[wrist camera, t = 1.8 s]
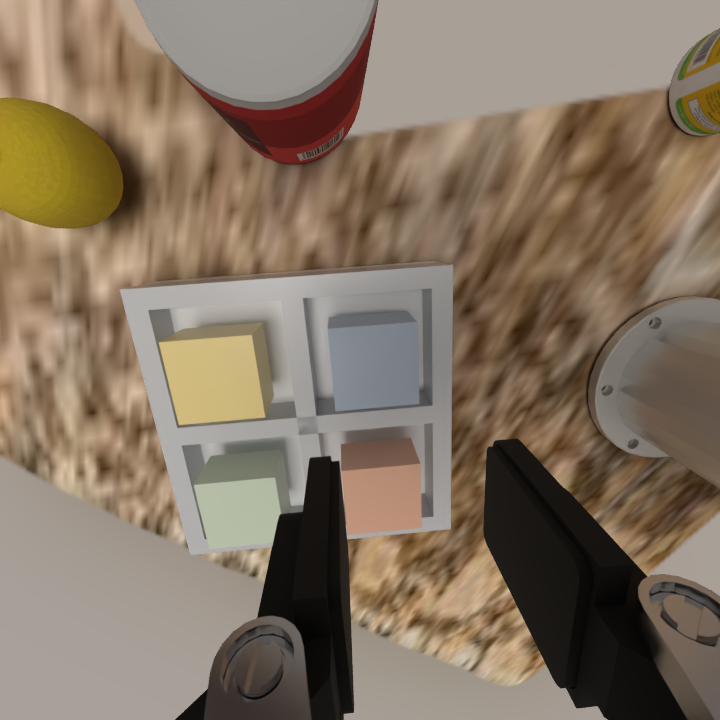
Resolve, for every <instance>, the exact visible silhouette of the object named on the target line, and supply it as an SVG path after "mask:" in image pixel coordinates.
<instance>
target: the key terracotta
mask: <svg viewBox="0 0 720 720" xmlns="http://www.w3.org/2000/svg"><path fill="white" fill-rule="evenodd" d="M341 472H342V483H343V493H344V503H345V514H346V524H347V534H348V535H355V534H365V533H375V532H385V531H395V530H405V529H415V528H422V513H421V464H420V461H419V458H418V456H417V453H416V450H415V448H414V445H413V442H412V440H411V438H401V439H390V440H379V441H368V442H357V443H346V444H341Z"/></svg>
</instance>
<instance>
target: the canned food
mask: <svg viewBox="0 0 720 720" xmlns="http://www.w3.org/2000/svg"><path fill="white" fill-rule="evenodd" d="M134 1H135V3H136V5H137V7H138V9H139V11H140V13H141V15H142V17H143V19H144V21H145V23H146V25H147V27H148V29H149V31H150V32H151V33H152V35H153V36H154V38H155V40H156V41H157V43H158V44H159V46H160V47H161V49H162V50H163V51H164V53H165V54H166V56H167V57H168V58H169V60H170V61H171V63H172V64H173V65H174V66H175V67H176V68H177V69H178V70H179V71H180V72H181V73H182V75H183V76H184V78H185V79H186V80H187V81H188V82H189V83H190V84H191V85H192V86H193V87H194V88H195V89H196V90H197V91H198V92H199V93H200V94H201V96H202V97H203V98H204V99H205V100H206V101H207V102H208V103H209V104H210V105H211V106H212V107H213V108H214V109H215V110H216V111H217V112H218V113H219V114H220V116H221V117H222V118H223V119H224V120H225V121H226V122H227V123H228V124H229V125H230V126H231V127H232V128H233V129H234V130H235V131H236V132H237V133H238V134H239V136H240V137H241V138H242V139H243V140H244V141H245V142H246V143H247V144H248V145H249V146H250V147H251V148H252V149H254V150H255V151H257V152H258V153H260V154H261V155H263V156H264V157H267V158H269V159H272V160H274V161H277V162H282V163H288V164H299V163H306V162H310V161H313V160H316V159H318V158H320V157H322V156H324V155H326V154H328V153H329V152H330V151H331V150H333V149H334V148H335V147H336V146H338V145H339V143H340V142H341V141H342V140H343V138H344V137H345V136H346V135H347V133H348V132H349V130H350V128H351V126H352V124H353V122H354V121H355V118H356V115H357V112H358V109H359V106H360V100H361V95H362V89H363V84H364V78H365V73H366V68H367V62H368V57H369V51H370V46H371V40H372V35H373V29H374V23H375V17H376V11H377V5H378V0H134Z"/></svg>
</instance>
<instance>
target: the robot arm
mask: <svg viewBox="0 0 720 720" xmlns="http://www.w3.org/2000/svg"><path fill="white" fill-rule="evenodd" d="M588 405H589V409H590V413H591V417H592V419H593V421H594V423H595V425H596V427H597V429H598V430H599V431H600V432H601V433H602V434H603V436H604V437H605V438H606V439H608V440H609V441H611V442H612V443H613V444H614V445H616V446H617V447H619V448H620V449H622V450H624V451H626V452H628V453H631V454H634V455H638V456H641V457H653V458H658V457H668V456H670V457H672V458H673V459H675V460H676V461H678V462H679V463H681V464H682V465H684V466H685V467H687V468H689V469H690V470H692V471H693V472H695V473H696V474H698V475H699V476H701V477H702V478H704V479H706V480H707V481H709V482H710V483H712V484H713V485H715V486H716V487H718V488H719V489H720V300H718V299H714V298H706V297H698V296H689V297H678V298H674V299H670V300H667V301H663V302H660V303H658V304H656V305H654V306H651V307H649V308H647V309H645V310H643V311H642V312H640V313H639V314H637V315H636V316H634V317H633V318H631V319H630V320H629V321H628V322H627V323H625V324H624V325H623V326H622V327H621V328H620V329H619V330H618V331H617V332H616V333H615V334H614V335H613V336H612V338H611V339H610V340H609V341H608V343H607V344H606V345H605V347H604V348H603V350H602V352H601V354H600V355H599V357H598V359H597V360H596V363H595V366H594V368H593V371H592V374H591V377H590V383H589V388H588ZM483 529H484V537H485V541H486V543H487V546H488V548H489V550H490V552H491V554H492V556H493V558H494V560H495V562H496V564H497V566H498V568H499V570H500V572H501V574H502V576H503V578H504V580H505V582H506V584H507V586H508V588H509V590H510V592H511V594H512V596H513V598H514V600H515V602H516V605H517V607H518V609H519V611H520V613H521V615H522V617H523V619H524V621H525V623H526V625H527V627H528V629H529V631H530V633H531V635H532V637H533V639H534V641H535V643H536V645H537V647H538V649H539V651H540V653H541V655H542V657H543V659H544V661H545V663H546V665H547V667H548V669H549V671H550V673H551V675H552V677H553V679H554V681H555V683H556V684H557V685H558V687H560V688H566V689H567V691H568V693H569V695H570V697H571V699H572V701H573V702H574V705H575V707H576V708H585V707H592V706H598V707H599V709H600V711H601V712H602V714H603V716H604V717H605V718H606V719H608V720H720V596H719V595H717V594H716V593H714V592H713V591H711V590H709V589H707V588H705V587H703V586H701V585H699V584H698V583H696V582H693V581H690V580H687V579H684V578H681V577H678V576H671V575H665V574H660V575H651V576H649V577H647V576H646V575H645V574H644V573H643V571H642V570H641V569H640V568H639V567H638V566H637V565H636V564H635V563H634V562H633V561H632V560H631V558H630V557H629V556H628V555H627V554H626V553H625V552H624V551H623V550H622V549H621V548H620V547H619V545H618V544H617V543H616V542H615V541H614V540H613V539H612V538H611V537H610V536H609V535H608V534H607V532H606V531H605V530H604V529H603V528H602V527H601V526H600V525H599V524H598V523H597V522H596V521H595V519H594V518H593V517H592V516H591V515H590V514H589V513H588V512H587V511H586V510H585V509H584V508H583V506H582V505H581V504H580V503H579V502H578V501H577V500H576V499H575V498H574V497H573V496H572V495H571V494H570V492H568V491H567V490H566V489H565V488H563V487H562V486H561V485H560V484H559V483H558V482H557V480H556V479H555V478H554V477H553V476H552V475H551V474H550V473H549V472H548V471H547V470H546V468H545V467H544V466H543V465H542V464H541V463H540V462H539V461H538V460H537V459H536V458H535V456H534V455H533V454H532V453H531V452H530V451H529V450H528V449H527V448H526V447H525V446H524V444H523V443H522V442H521V441H520V440H518V439H508V440H497V441H495V442H494V444H493V447H488V449H487V459H486V482H485V505H484V527H483ZM353 712H354V695H353V666H352V641H351V612H350V585H349V558H348V543H347V533H346V523H345V512H344V502H343V492H342V482H341V472H340V462H339V461H332V460H331V456H323V457H312V458H310V459H309V465H308V473H307V481H306V489H305V497H304V505H303V512H296V513H286V514H280V516H279V518H278V522H277V527H276V532H275V536H274V541H273V546H272V550H271V555H270V560H269V565H268V569H267V574H266V579H265V584H264V588H263V593H262V598H261V603H260V607H259V612H258V617H257V618H256V619H254V620H251V621H249V622H246V623H245V624H243V625H242V626H241V627H239V628H238V629H236V630H235V631H233V633H232V634H231V635H230V636H229V637H228V638H227V639H226V640H225V641H224V643H223V644H222V646H221V647H220V649H219V651H218V652H217V654H216V656H215V658H214V661H213V664H212V668H211V672H210V677H209V684H208V689H207V690H206V691H205V692H204V693H203V694H202V695H201V696H200V697H199V698H198V699H197V700H196V701H194V702H193V703H192V704H191V705H190V706H189V707H188V708H187V709H186V710H185V711H184V712H183V713H182V714H181V715H180V716H179V717H177V718H176V719H175V720H344V717H343V716H344V715H343V714H346V713H353Z"/></svg>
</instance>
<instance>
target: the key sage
mask: <svg viewBox="0 0 720 720" xmlns="http://www.w3.org/2000/svg"><path fill="white" fill-rule="evenodd" d="M194 489H195V493H196V497H197V501H198V505H199V509H200V513H201V517H202V521H203V525H204V530H205V534H206V538H207V542H208V546H209V549H215V548H225V547H235V546H245V545H255V544H265V543H273V541H274V536H275V532H276V527H277V522H278V518H279V516H280V514H286V513H290V512H291V503H290V496H289V490H288V483H287V477H286V470H285V463H284V457H283V450H282V449H280V450H269V451H258V452H247V453H236V454H225V455H214V456H210V458H209V460H208V461H207V463H206V465H205V466H204V468H203V470H202V471H201V473H200V475H199V477H198V478H197V480H196V482H195V483H194Z"/></svg>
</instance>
